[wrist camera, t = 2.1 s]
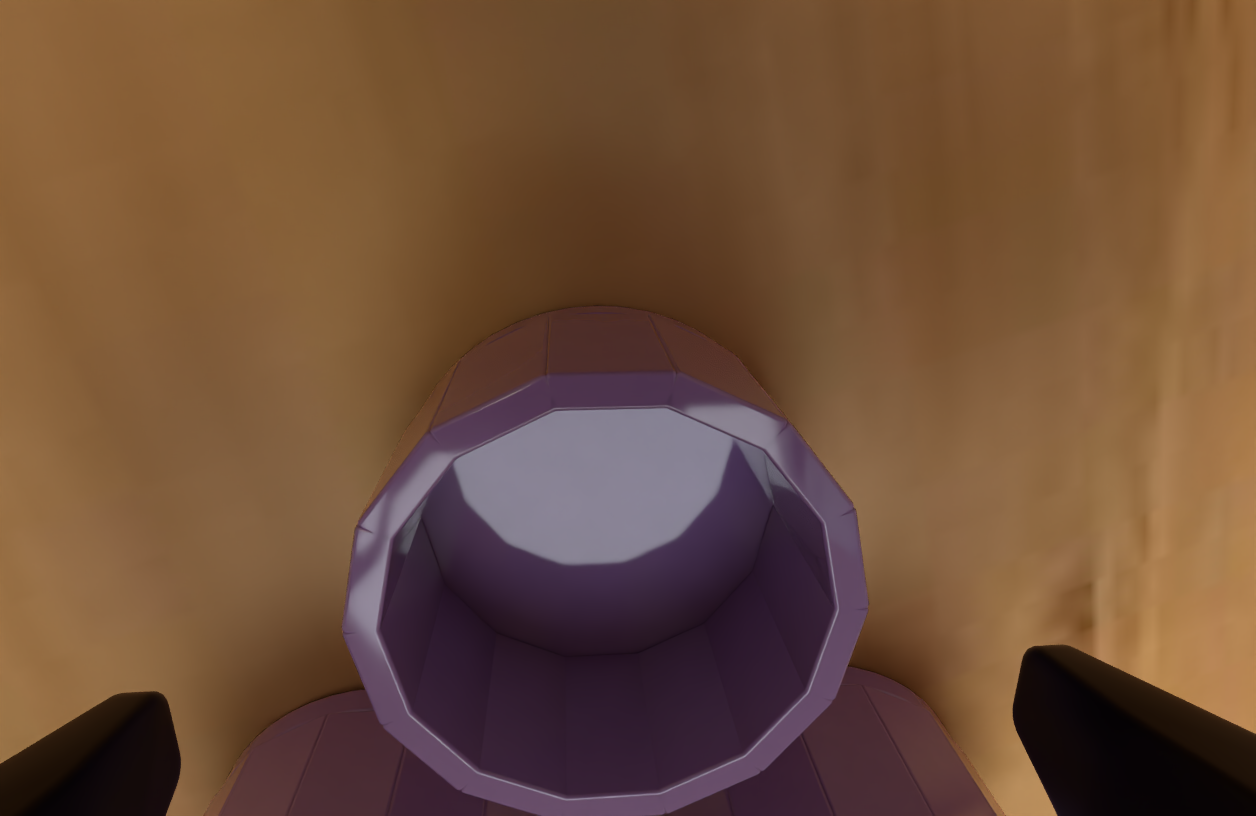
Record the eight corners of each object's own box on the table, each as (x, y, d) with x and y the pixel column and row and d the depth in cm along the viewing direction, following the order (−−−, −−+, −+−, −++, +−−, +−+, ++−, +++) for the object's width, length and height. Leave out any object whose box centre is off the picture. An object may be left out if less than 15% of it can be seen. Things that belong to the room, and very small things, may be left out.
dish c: (776, 644, 14) (845, 804, 11) (416, 662, 14) (368, 836, 10) (804, 301, 12) (900, 366, 9) (380, 307, 12) (305, 378, 8)
